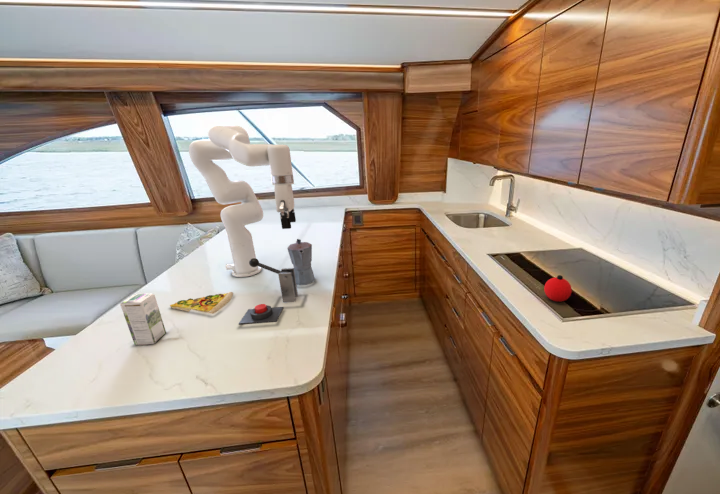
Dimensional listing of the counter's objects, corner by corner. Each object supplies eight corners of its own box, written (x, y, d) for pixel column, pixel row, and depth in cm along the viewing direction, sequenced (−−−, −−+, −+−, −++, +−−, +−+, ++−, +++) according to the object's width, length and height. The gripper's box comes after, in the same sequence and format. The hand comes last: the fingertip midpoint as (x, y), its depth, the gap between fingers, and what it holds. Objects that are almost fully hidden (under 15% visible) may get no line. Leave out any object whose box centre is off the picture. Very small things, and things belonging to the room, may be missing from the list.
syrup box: (148, 334, 94) (133, 293, 89) (167, 333, 95) (154, 292, 90) (134, 345, 89) (118, 303, 84) (155, 344, 89) (140, 302, 84)
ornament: (571, 308, 106) (576, 282, 102) (543, 303, 109) (547, 279, 105) (567, 296, 114) (572, 272, 110) (541, 292, 116) (545, 269, 113)
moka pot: (295, 292, 119) (288, 245, 113) (290, 278, 132) (283, 235, 125) (319, 287, 123) (314, 241, 117) (311, 274, 136) (306, 232, 130)
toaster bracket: (274, 308, 108) (268, 276, 104) (280, 296, 116) (275, 266, 112) (302, 306, 109) (297, 275, 105) (306, 295, 117) (302, 265, 113)
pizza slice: (218, 316, 104) (216, 308, 103) (156, 319, 102) (153, 312, 101) (237, 295, 118) (236, 288, 117) (183, 297, 117) (181, 290, 116)
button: (253, 314, 99) (252, 309, 98) (257, 308, 102) (256, 304, 101) (265, 313, 99) (264, 308, 98) (268, 307, 102) (267, 303, 102)
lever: (246, 266, 104) (249, 258, 104) (249, 263, 107) (252, 255, 107) (288, 282, 108) (291, 274, 107) (290, 278, 111) (293, 271, 110)
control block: (239, 328, 97) (237, 318, 96) (249, 313, 105) (247, 304, 104) (277, 325, 98) (275, 315, 97) (284, 310, 106) (282, 302, 105)
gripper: (277, 178, 117) (284, 220, 122) (265, 183, 100) (273, 231, 106) (297, 177, 118) (302, 219, 123) (288, 182, 102) (295, 230, 107)
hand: (289, 225), depth 115 cm, fingers open, 9 cm apart
